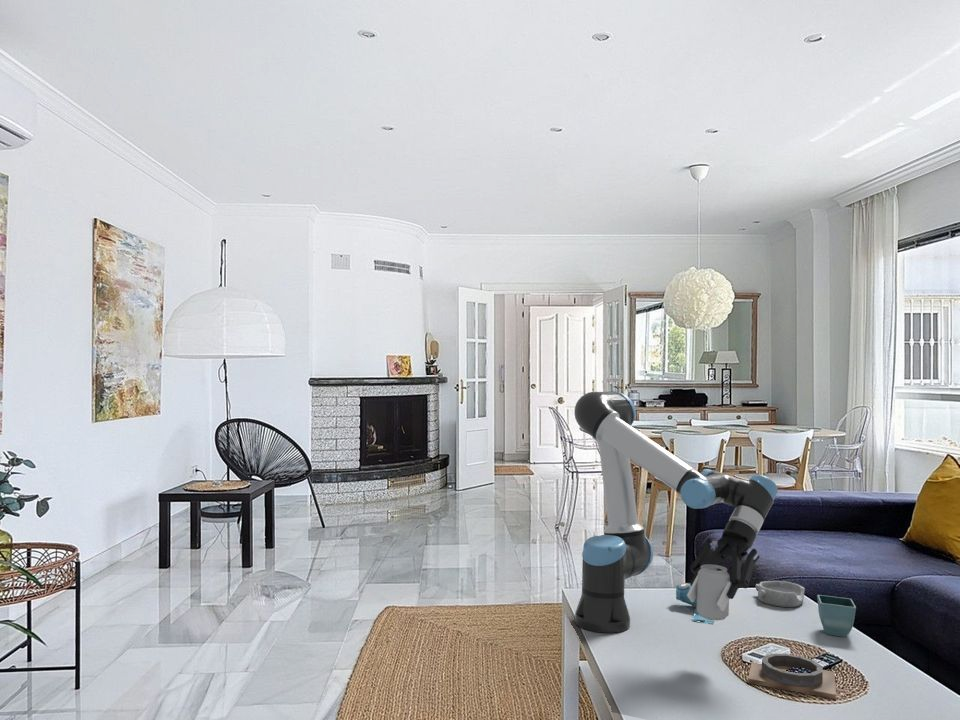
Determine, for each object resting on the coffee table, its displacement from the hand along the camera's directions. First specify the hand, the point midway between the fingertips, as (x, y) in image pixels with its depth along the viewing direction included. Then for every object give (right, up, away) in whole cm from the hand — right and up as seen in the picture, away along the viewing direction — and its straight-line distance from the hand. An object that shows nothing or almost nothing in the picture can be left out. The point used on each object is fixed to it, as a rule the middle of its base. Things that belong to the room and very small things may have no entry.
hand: (705, 603), depth 178 cm
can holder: (+18, -15, -7) cm, 25 cm away
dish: (+39, -17, +53) cm, 69 cm away
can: (+2, -4, +2) cm, 5 cm away
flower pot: (+43, -17, +25) cm, 53 cm away
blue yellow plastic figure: (+12, -17, +44) cm, 49 cm away
